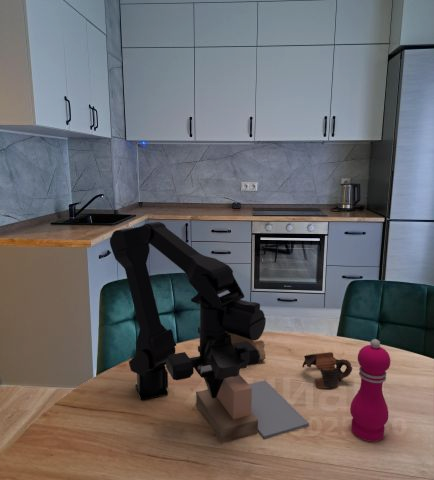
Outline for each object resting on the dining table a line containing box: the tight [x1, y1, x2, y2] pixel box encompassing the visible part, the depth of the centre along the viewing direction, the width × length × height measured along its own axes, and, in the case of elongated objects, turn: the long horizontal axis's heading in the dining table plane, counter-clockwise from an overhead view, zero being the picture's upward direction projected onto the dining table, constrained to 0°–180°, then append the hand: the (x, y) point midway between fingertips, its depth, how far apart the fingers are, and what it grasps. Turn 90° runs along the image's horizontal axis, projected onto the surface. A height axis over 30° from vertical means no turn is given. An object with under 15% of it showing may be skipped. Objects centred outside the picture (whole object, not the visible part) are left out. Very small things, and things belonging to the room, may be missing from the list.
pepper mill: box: [349, 338, 391, 442], centre depth 79 cm, size 7×7×20 cm
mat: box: [248, 379, 310, 440], centre depth 88 cm, size 11×18×1 cm, turn 23°
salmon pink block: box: [217, 373, 252, 419], centre depth 84 cm, size 4×10×6 cm, turn 23°
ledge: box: [195, 388, 259, 444], centre depth 85 cm, size 8×14×3 cm, turn 23°
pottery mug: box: [301, 351, 353, 389], centre depth 100 cm, size 12×10×8 cm
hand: (213, 397), depth 83 cm, fingers closed
